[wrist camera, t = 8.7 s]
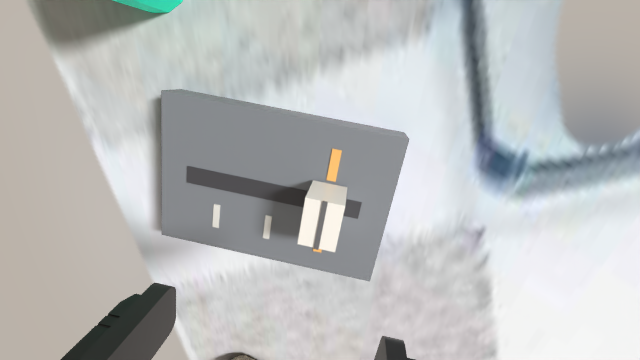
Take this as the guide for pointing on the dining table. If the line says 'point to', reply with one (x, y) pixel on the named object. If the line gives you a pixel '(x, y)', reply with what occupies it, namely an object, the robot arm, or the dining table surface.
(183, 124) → the fader console
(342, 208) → the fader
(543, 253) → the dining table surface
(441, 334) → the dining table surface
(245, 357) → the long grey stone
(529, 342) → the dining table surface
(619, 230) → the dining table surface
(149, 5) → the candle
